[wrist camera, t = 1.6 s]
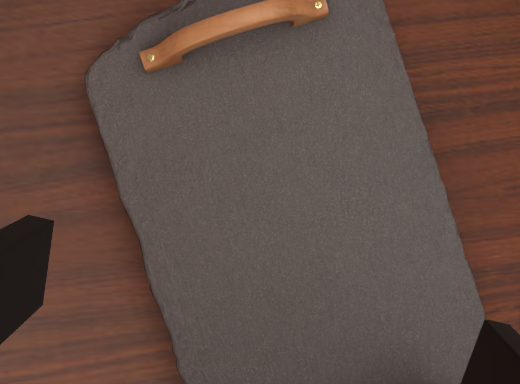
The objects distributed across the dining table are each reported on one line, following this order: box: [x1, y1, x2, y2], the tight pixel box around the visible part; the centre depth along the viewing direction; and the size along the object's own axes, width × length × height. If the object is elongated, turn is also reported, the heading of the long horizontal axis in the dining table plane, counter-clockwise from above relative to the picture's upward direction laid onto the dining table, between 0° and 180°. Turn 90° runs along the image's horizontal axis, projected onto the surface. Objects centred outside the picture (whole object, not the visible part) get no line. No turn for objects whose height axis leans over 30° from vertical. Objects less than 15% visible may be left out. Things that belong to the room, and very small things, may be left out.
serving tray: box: [84, 0, 486, 384], centre depth 33 cm, size 39×23×6 cm, turn 19°
